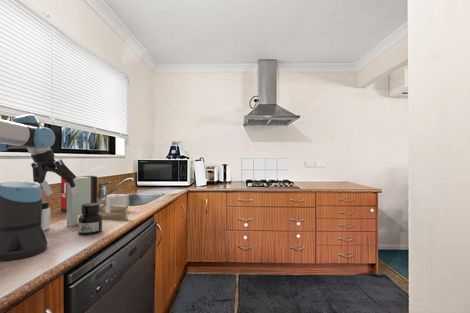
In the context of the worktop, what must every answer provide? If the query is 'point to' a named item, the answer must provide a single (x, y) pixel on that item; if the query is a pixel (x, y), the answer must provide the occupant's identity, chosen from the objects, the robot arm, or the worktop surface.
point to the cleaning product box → (64, 191)
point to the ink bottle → (90, 219)
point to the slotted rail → (114, 212)
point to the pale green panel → (78, 199)
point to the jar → (45, 215)
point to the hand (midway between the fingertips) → (62, 194)
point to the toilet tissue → (115, 200)
